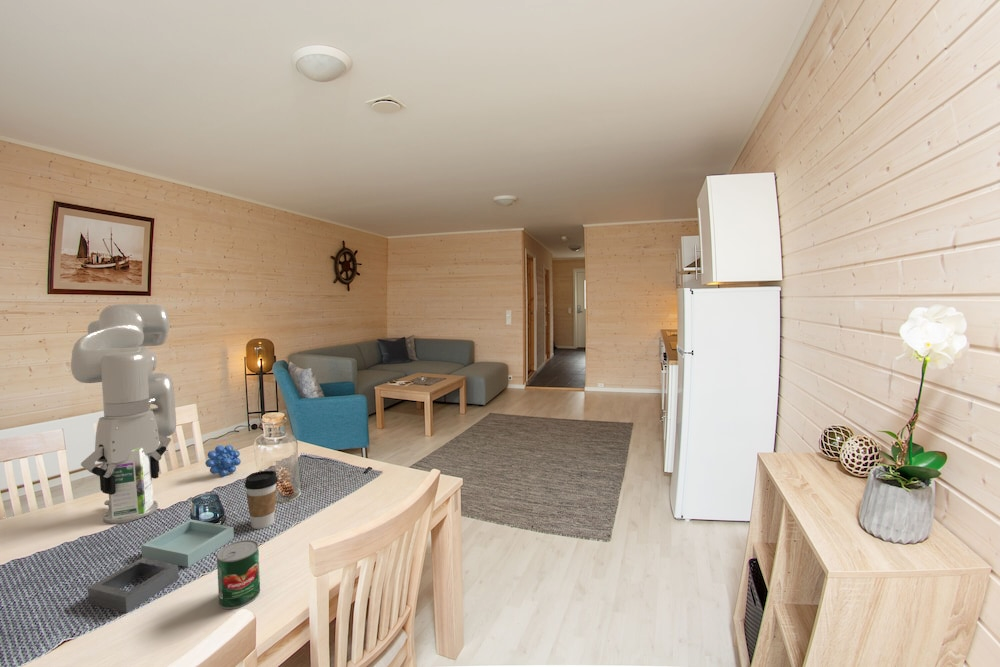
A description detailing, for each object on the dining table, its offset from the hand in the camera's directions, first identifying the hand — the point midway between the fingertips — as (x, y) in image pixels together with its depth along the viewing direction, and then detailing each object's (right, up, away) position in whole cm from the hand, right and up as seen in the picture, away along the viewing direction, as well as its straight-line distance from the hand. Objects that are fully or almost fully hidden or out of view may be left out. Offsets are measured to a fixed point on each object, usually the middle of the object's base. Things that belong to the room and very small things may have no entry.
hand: (131, 484), depth 93 cm
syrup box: (0, -6, 0) cm, 6 cm away
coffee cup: (+12, -23, +30) cm, 40 cm away
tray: (0, -23, +18) cm, 29 cm away
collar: (0, -25, +1) cm, 25 cm away
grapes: (-20, -20, +62) cm, 68 cm away
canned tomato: (+24, -25, 0) cm, 35 cm away
